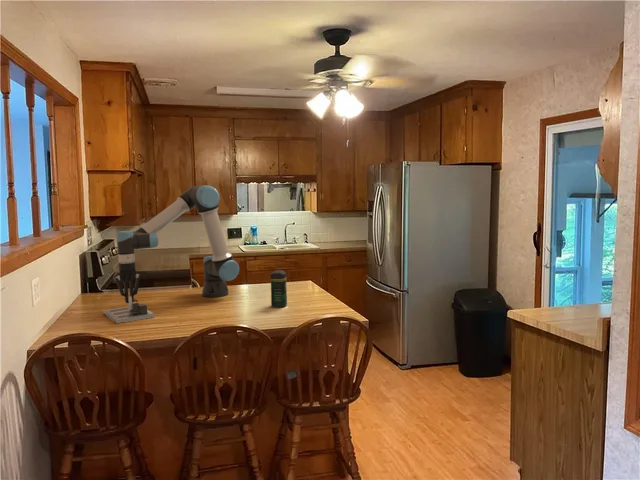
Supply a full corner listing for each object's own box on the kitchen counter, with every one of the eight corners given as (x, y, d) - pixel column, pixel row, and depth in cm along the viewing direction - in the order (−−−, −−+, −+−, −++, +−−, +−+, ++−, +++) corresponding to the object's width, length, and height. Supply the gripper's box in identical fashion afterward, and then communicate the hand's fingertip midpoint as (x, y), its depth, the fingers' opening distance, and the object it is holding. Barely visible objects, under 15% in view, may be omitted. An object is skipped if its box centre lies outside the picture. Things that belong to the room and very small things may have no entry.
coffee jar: (285, 308, 262) (284, 272, 259) (270, 308, 262) (268, 272, 260) (288, 303, 271) (287, 269, 269) (273, 303, 272) (272, 269, 270)
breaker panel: (103, 314, 258) (102, 302, 258) (139, 308, 269) (138, 297, 268) (116, 324, 239) (115, 311, 238) (154, 317, 250) (153, 305, 249)
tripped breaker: (130, 310, 256) (130, 302, 256) (136, 309, 258) (136, 301, 258) (133, 311, 253) (132, 303, 253) (139, 310, 255) (138, 302, 255)
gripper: (115, 264, 245) (118, 312, 247) (142, 261, 252) (145, 308, 255) (111, 263, 251) (114, 309, 253) (137, 260, 258) (141, 305, 261)
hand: (130, 309), depth 254 cm, fingers closed
